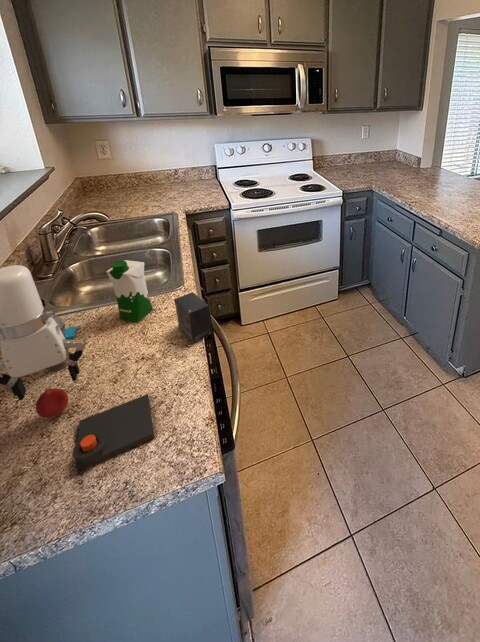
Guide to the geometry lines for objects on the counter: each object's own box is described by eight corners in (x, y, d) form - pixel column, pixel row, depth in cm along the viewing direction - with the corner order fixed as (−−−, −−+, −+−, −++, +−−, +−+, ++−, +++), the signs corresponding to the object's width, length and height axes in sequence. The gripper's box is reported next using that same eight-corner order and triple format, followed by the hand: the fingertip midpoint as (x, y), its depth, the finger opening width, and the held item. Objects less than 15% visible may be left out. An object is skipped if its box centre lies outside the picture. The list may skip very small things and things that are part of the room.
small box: (213, 333, 108) (209, 304, 105) (193, 344, 104) (188, 314, 101) (197, 318, 116) (193, 290, 112) (178, 327, 111) (172, 299, 108)
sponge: (29, 336, 107) (23, 346, 102) (76, 324, 112) (73, 333, 107) (31, 340, 108) (25, 351, 102) (77, 329, 113) (74, 338, 107)
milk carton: (115, 320, 115) (101, 266, 109) (136, 304, 124) (123, 252, 117) (138, 324, 113) (125, 269, 106) (157, 308, 121) (146, 255, 115)
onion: (40, 431, 79) (30, 404, 76) (41, 413, 83) (31, 386, 80) (72, 417, 82) (63, 390, 79) (71, 400, 86) (62, 374, 84)
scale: (75, 474, 70) (72, 463, 69) (79, 425, 80) (76, 415, 79) (154, 438, 77) (152, 428, 76) (149, 398, 87) (146, 388, 86)
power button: (81, 454, 71) (79, 449, 70) (82, 443, 73) (80, 438, 72) (96, 448, 72) (95, 442, 72) (97, 437, 74) (95, 432, 74)
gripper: (75, 300, 81) (94, 359, 87) (-25, 328, 73) (4, 391, 79) (72, 318, 75) (94, 380, 81) (-37, 350, 67) (-4, 416, 73)
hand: (49, 385), depth 80 cm, fingers open, 9 cm apart
